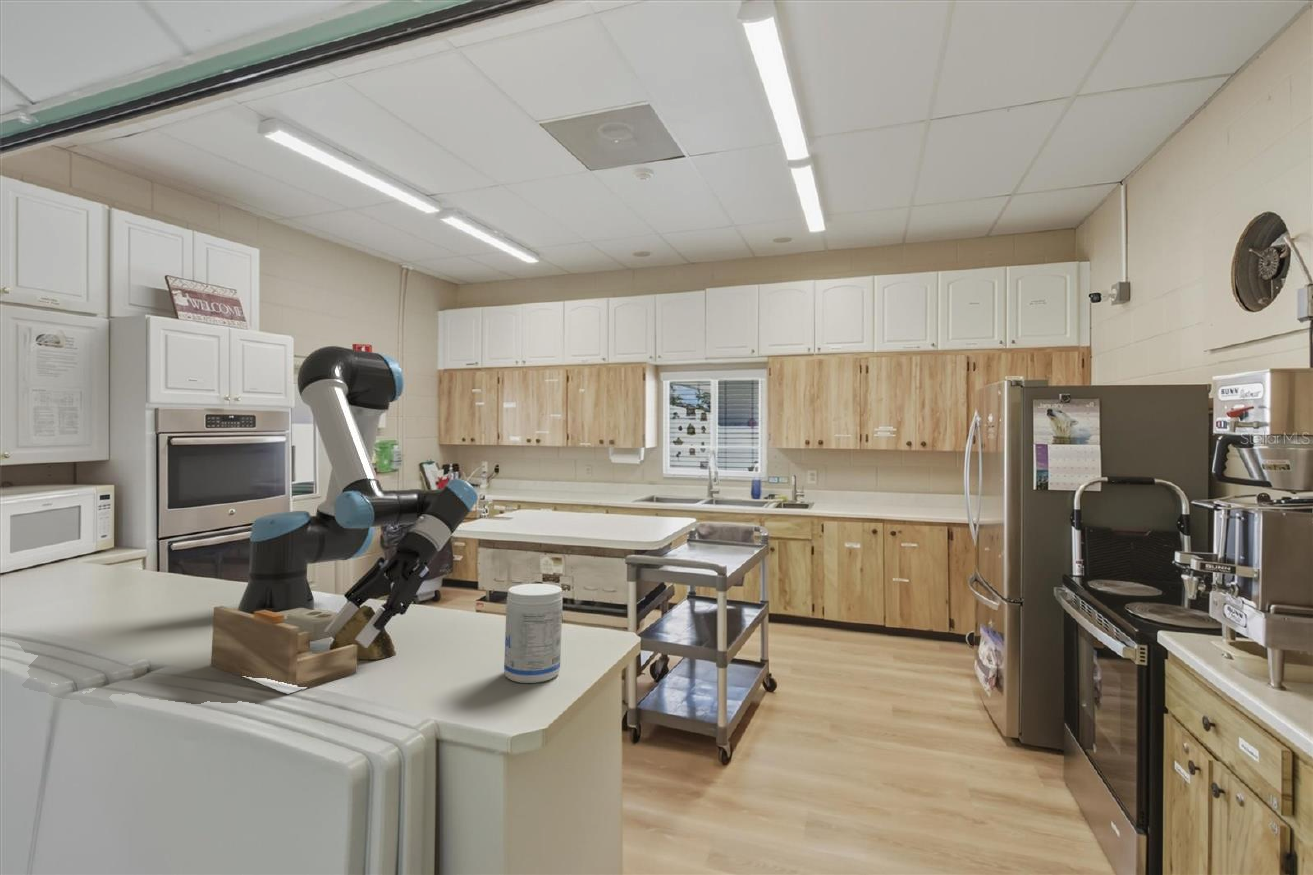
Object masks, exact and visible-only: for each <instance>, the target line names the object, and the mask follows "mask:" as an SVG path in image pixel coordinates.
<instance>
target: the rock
mask: <svg viewBox="0 0 1313 875" xmlns="http://www.w3.org/2000/svg"><path fill="white" fill-rule="evenodd" d="M375 613H376V612H375V611H374V609H373V608H372V606H368V605H362V606H360V609H358V610H357V611H356V612H355V613H354V615H353V616H352V617H351V618H350V619H349V620H348V621H347V622H346V623H345V624H344V626H343V627H342V628H341V629H340V631H339V632H338V633H337V634H336V635H335V637H334V639H333V641H332V642H331V644H330V645H329V651H330V650H333V649H337V648H341V647H345V646H348V645H352V644H354V645H357V660H371V661H372V660H381V659H384V658H385V659H386V658H390V657H392V656H396V655H397V652H396V649H395V646H394V645H395V644H394V643H393V641H392V638H391V636H390V634H389V633H388V631H386V628H385V627H386V626H385V627H384V628H383V629H382V630H381V631H380V632H379V633H378V634H377V636H376V637H375V638H374V640H373V641H372V642H371V644H370V645H369V646H368V648H364V647H363V646H362V645H361V644H359V643H358V642H357V641H356V640H355V638H356V637H357V636H358V635H359V633H360V632H361V631H362V629H363V628H364V627H365V626H366V624H367V623H368V622H369V621H370V619H371V618H372V617H373V615H374V614H375Z"/></svg>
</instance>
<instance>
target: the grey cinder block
mask: <svg viewBox="0 0 1313 875" xmlns="http://www.w3.org/2000/svg"><path fill="white" fill-rule="evenodd" d="M276 613H279V614H282V615H284V623H285V624H289V625H292V626H296V627H299V632H298V633H301V632H305V631H308V632H310V641H314V642H317V641H321V640H324V639H328V638H329V639H330V638H332V637H331V636H329V635H328V634H327V633H326V632H325V631H324V630H325V629H326V628H327V627H328V626H329V624H330V623H331V622H332V621H333V620H334V618H335V617H336V616H337V614H338V613H339V612H336V611H333V610H328V609H323V608H315V609H313V610H309V609H305V608H297V609H292V610H286V611H281V612H276Z"/></svg>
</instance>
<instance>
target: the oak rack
mask: <svg viewBox="0 0 1313 875" xmlns="http://www.w3.org/2000/svg"><path fill="white" fill-rule="evenodd" d="M212 620H213V622H212V639H211V641H212V642H211V655H210V657H211V659H210V660H211V661H210V666H212V667H215V668H218V669H220V670H222V671H225V672H228V673H230V674H234V675H236V676H238V677H241V676H246V677H252V678H267V679H271V680H275V681H278V682H284V683H287V684H292V685H297V686H298V687H307V688H308V689H312V688H314V687H317V686H320V685H325V684H327V683H330V682H333V681H337V680H340V679H342V678H346V677H349V676H353V675H356V674H357V665H358V663H357V662H358V659H357V645H354V644H352V645H348V646H345V647H341V648H337V649H333V650H330V649H329V650H327V651H323V652H318V653H315V652H312V651H311V650H310V648H311V647H310V646H311V640H310V632H308V631H305V632H301V633H298V632H299V627H296V626H292V625H289V624H285V623H284V615H282V614H279V613H275V612H271V611H267V610H261V611H255V612H254V615H253V614H249V613H246V612H242V611H238V609H235V608H231V607H227V606H223V605H220V606H214V607H213V619H212Z"/></svg>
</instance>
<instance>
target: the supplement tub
mask: <svg viewBox="0 0 1313 875" xmlns="http://www.w3.org/2000/svg"><path fill="white" fill-rule="evenodd" d="M506 596H507V597H506V604H505V605H506V607H505V610H506V611H505V630H504V631H505V632H504V633H505V635H504V636H505V638H504V660H503V661H504V664H503V666H504V667H503V672H504V673H503V674H504V675H505V677H506V678H507V679H509V680H511V681H513V682H516V683H522V684H537V683H543V682H546V681H547V682H548V681H550V680H552V679H554V678H555V677H556V676H558V674H559V673H560V670H561V657H562V656H561V655H562V654H561V652H562V650H561V649H562V625H563V588H561V586H558V585H556V584H550V583H523V584H517V585H514V586H511V587H509V588H508V589H507V595H506Z"/></svg>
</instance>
